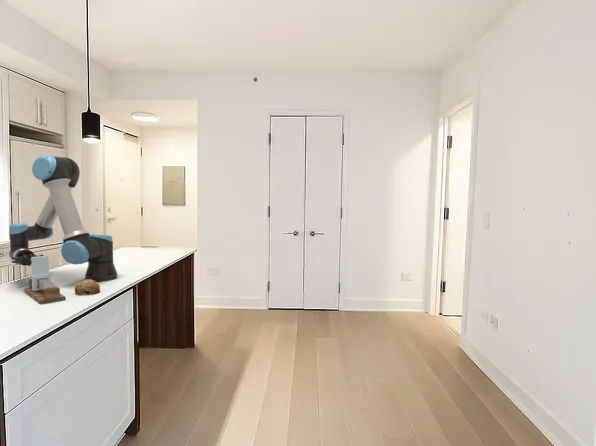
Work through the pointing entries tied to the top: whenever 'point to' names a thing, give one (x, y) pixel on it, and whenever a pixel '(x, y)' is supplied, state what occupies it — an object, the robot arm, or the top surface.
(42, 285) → the grey square bar
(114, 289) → the top surface
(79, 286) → the bread roll
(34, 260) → the slotted grey-blue plate
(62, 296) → the base board
